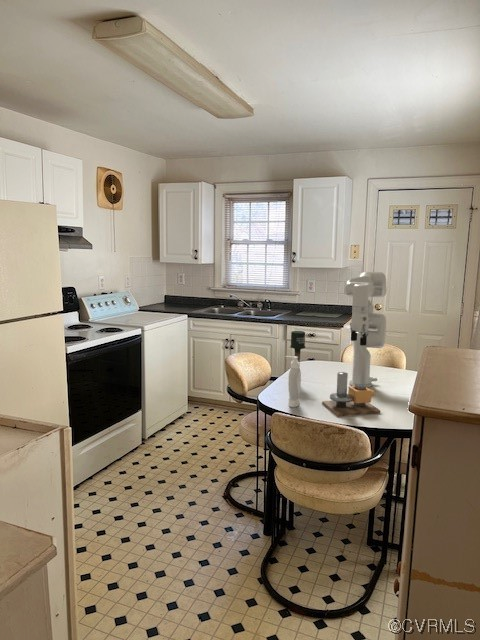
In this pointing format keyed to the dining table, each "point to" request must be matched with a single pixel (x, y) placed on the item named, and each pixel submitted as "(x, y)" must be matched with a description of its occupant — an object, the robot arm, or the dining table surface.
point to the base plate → (350, 409)
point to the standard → (341, 391)
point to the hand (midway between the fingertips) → (358, 342)
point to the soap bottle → (294, 382)
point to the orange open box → (361, 394)
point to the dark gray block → (360, 387)
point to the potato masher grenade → (298, 342)
